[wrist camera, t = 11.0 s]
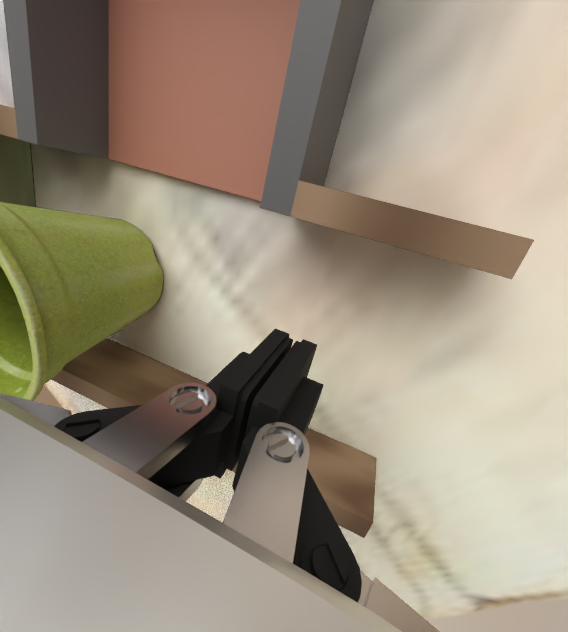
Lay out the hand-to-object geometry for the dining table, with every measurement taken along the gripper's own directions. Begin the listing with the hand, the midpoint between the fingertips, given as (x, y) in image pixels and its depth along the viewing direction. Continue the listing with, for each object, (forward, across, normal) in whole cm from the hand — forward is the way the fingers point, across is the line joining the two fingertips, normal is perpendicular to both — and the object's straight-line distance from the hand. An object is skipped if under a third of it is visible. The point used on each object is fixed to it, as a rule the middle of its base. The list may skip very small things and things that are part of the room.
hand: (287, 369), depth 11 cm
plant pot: (+5, +13, +1) cm, 14 cm away
